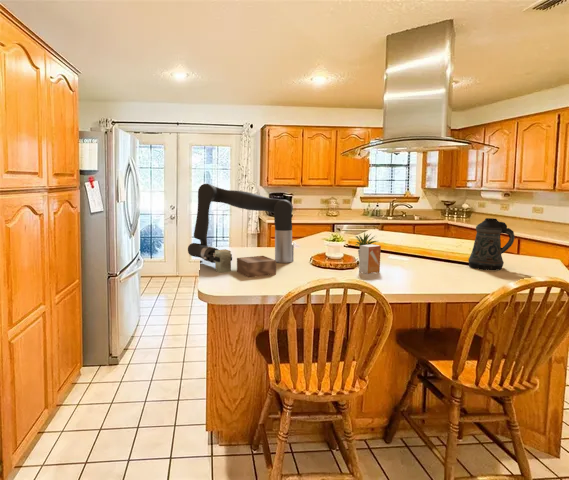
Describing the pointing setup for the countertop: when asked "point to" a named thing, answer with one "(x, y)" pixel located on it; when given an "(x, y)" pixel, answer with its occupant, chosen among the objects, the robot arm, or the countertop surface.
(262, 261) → the walnut block
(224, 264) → the sage tea tin
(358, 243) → the house plant
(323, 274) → the countertop surface
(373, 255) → the small box
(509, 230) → the beer stein
